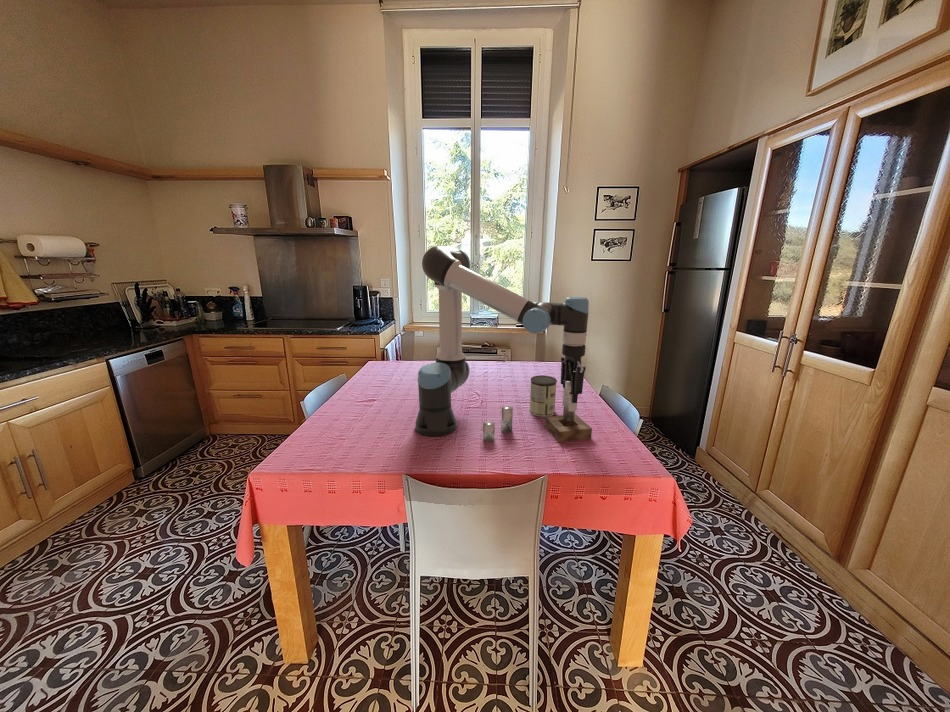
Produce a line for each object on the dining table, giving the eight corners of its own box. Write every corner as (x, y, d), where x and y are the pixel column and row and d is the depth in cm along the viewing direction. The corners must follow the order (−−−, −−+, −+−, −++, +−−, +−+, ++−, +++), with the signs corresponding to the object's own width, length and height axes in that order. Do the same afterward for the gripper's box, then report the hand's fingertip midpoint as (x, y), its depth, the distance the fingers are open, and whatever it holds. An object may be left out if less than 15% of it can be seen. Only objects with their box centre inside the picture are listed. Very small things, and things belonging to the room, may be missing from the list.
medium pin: (502, 433, 127) (503, 410, 124) (499, 428, 130) (500, 406, 128) (513, 432, 127) (514, 409, 125) (510, 427, 131) (510, 405, 129)
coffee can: (533, 405, 151) (534, 373, 148) (557, 409, 147) (559, 377, 144) (526, 414, 142) (527, 381, 139) (551, 419, 138) (553, 385, 135)
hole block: (558, 442, 120) (559, 431, 119) (545, 426, 132) (545, 416, 131) (591, 438, 123) (592, 428, 122) (574, 423, 134) (575, 414, 133)
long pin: (566, 421, 124) (568, 383, 120) (561, 416, 127) (563, 380, 124) (576, 420, 124) (579, 382, 121) (571, 415, 128) (574, 379, 124)
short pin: (484, 442, 120) (484, 426, 119) (481, 437, 124) (481, 421, 122) (495, 441, 121) (496, 425, 119) (492, 436, 125) (493, 420, 123)
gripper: (597, 349, 111) (591, 417, 117) (572, 337, 127) (568, 398, 133) (575, 350, 110) (570, 419, 116) (553, 338, 126) (549, 399, 132)
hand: (569, 407), depth 125 cm, fingers closed on long pin, 4 cm apart
